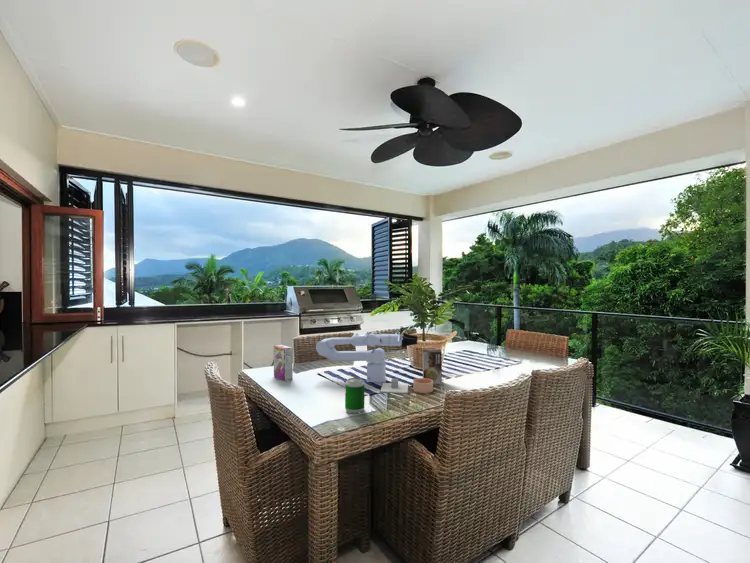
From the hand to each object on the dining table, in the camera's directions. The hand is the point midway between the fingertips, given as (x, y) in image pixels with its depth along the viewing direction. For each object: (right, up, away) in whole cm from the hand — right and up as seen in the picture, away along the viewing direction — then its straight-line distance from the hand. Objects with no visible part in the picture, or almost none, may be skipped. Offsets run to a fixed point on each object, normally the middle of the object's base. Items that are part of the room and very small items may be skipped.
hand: (417, 340), depth 174 cm
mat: (-12, -21, -11) cm, 27 cm away
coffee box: (+7, -21, 0) cm, 23 cm away
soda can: (-29, -21, -37) cm, 52 cm away
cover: (-12, -21, -11) cm, 26 cm away
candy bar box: (-68, -21, +6) cm, 72 cm away
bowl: (+1, -21, -12) cm, 25 cm away
